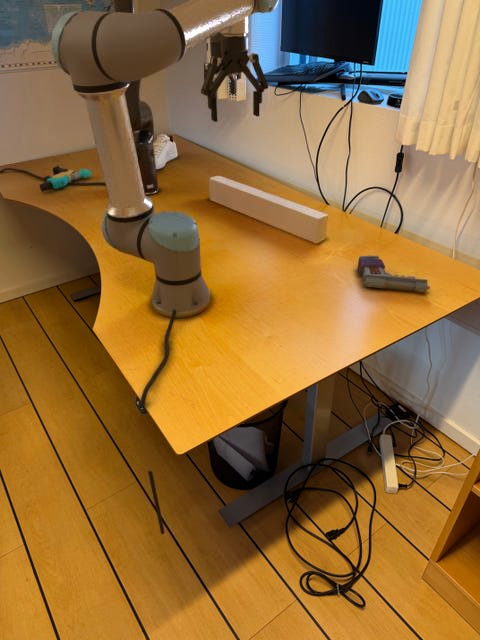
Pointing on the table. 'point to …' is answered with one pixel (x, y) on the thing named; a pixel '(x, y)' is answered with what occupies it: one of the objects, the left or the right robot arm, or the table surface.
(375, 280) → the toy gun
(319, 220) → the bar
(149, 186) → the left robot arm
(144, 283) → the table surface
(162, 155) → the sneaker
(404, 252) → the table surface
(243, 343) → the table surface
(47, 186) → the toy gun
